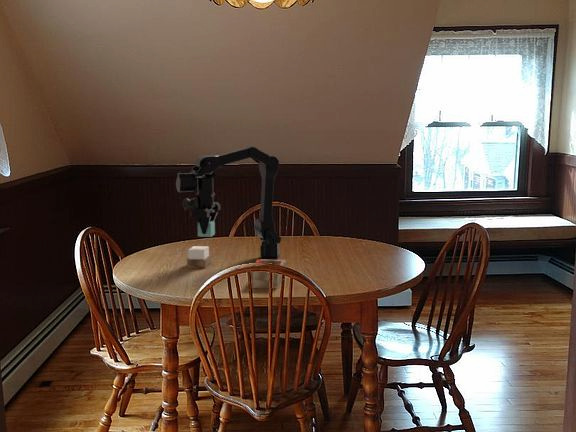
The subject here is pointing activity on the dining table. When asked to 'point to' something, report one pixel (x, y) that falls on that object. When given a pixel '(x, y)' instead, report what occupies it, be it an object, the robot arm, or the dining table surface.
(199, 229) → the teal cube
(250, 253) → the dining table surface
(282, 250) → the dining table surface
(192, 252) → the cream block
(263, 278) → the bracket cradle
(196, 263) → the walnut block
